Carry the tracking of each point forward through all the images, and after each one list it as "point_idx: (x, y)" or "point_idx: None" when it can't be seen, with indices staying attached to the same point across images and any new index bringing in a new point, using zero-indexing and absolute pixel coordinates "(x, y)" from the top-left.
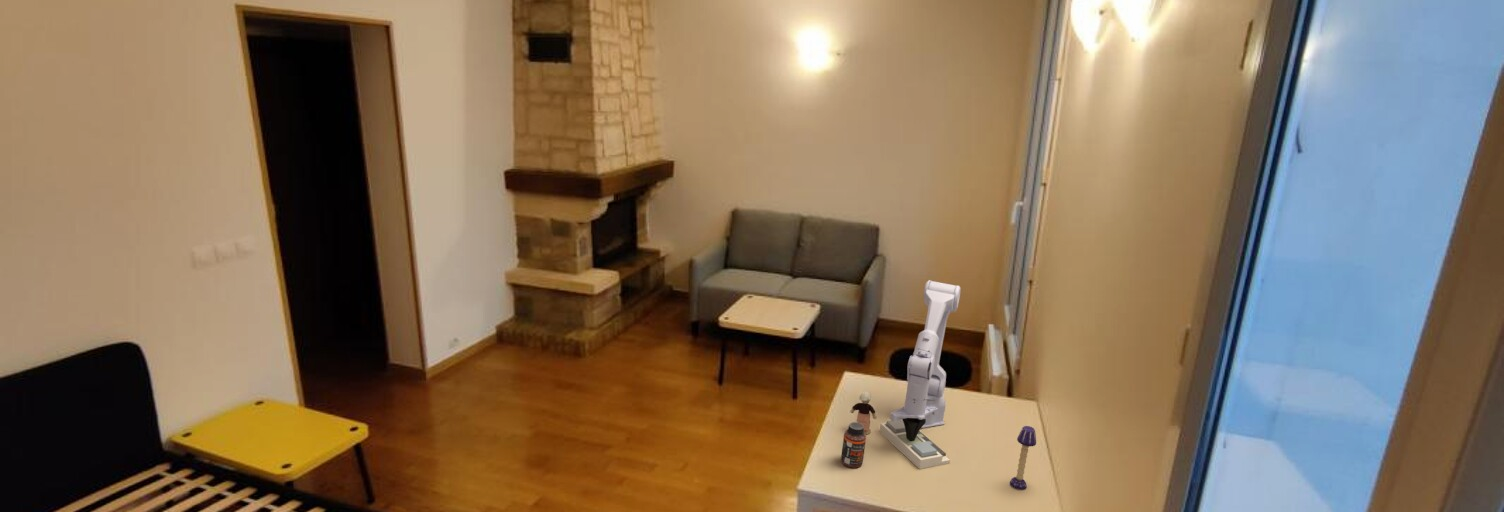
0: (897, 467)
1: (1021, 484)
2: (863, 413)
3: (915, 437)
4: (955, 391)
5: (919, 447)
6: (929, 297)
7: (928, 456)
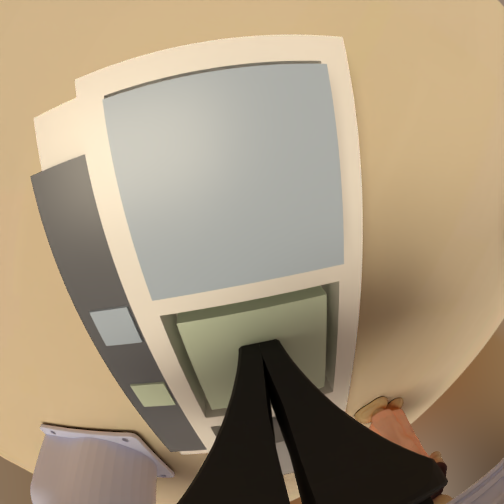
0: (427, 123)
1: None
2: None
3: (242, 366)
4: None
5: (304, 182)
6: None
7: None
